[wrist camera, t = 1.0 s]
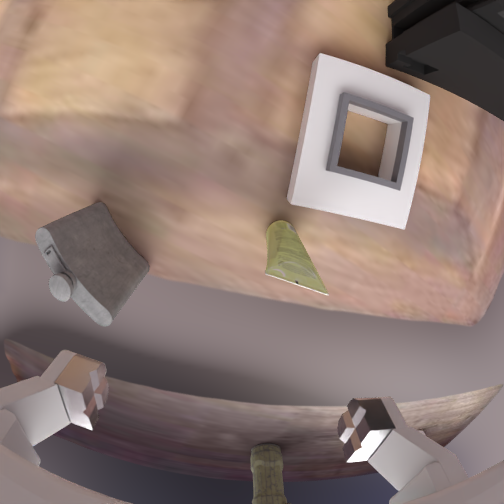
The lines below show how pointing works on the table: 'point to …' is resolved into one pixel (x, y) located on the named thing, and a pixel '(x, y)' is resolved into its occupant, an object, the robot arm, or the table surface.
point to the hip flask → (91, 262)
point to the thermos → (267, 474)
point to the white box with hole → (331, 134)
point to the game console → (452, 47)
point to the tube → (290, 258)
